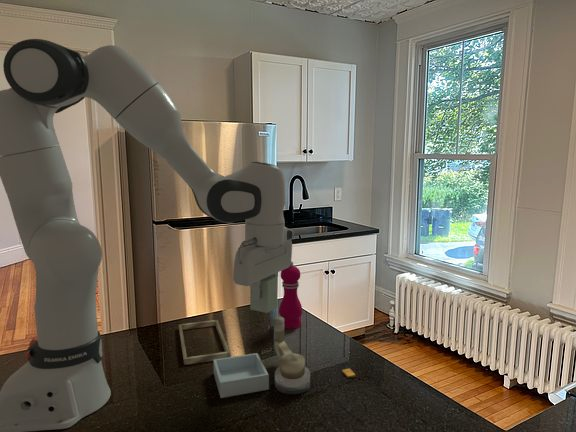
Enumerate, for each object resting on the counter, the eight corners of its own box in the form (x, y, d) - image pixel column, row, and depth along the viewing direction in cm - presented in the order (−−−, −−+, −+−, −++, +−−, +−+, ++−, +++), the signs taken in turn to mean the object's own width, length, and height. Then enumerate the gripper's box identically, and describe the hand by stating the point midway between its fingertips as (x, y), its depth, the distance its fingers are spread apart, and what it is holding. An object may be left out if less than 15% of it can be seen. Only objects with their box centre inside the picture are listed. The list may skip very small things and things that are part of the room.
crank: (308, 376, 92) (308, 339, 91) (284, 380, 91) (284, 343, 89) (288, 347, 106) (288, 315, 105) (267, 350, 104) (266, 318, 103)
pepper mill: (300, 330, 123) (300, 264, 120) (276, 328, 125) (275, 263, 122) (304, 320, 130) (304, 258, 127) (281, 319, 132) (281, 257, 129)
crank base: (280, 397, 89) (280, 384, 89) (270, 378, 97) (270, 367, 97) (360, 382, 95) (360, 370, 95) (345, 365, 103) (345, 354, 102)
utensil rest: (184, 365, 103) (183, 359, 103) (178, 329, 125) (178, 324, 124) (230, 357, 107) (230, 352, 107) (217, 324, 128) (217, 319, 128)
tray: (220, 398, 89) (220, 382, 89) (213, 373, 99) (213, 359, 99) (268, 389, 92) (268, 374, 92) (257, 366, 102) (257, 352, 102)
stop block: (267, 313, 93) (267, 282, 92) (250, 309, 95) (250, 279, 94) (277, 307, 96) (277, 277, 96) (260, 303, 99) (260, 274, 98)
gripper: (252, 244, 83) (251, 311, 84) (297, 230, 101) (295, 286, 103) (226, 240, 86) (225, 305, 87) (274, 228, 104) (273, 282, 105)
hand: (263, 294), depth 95 cm, fingers closed on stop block, 4 cm apart
